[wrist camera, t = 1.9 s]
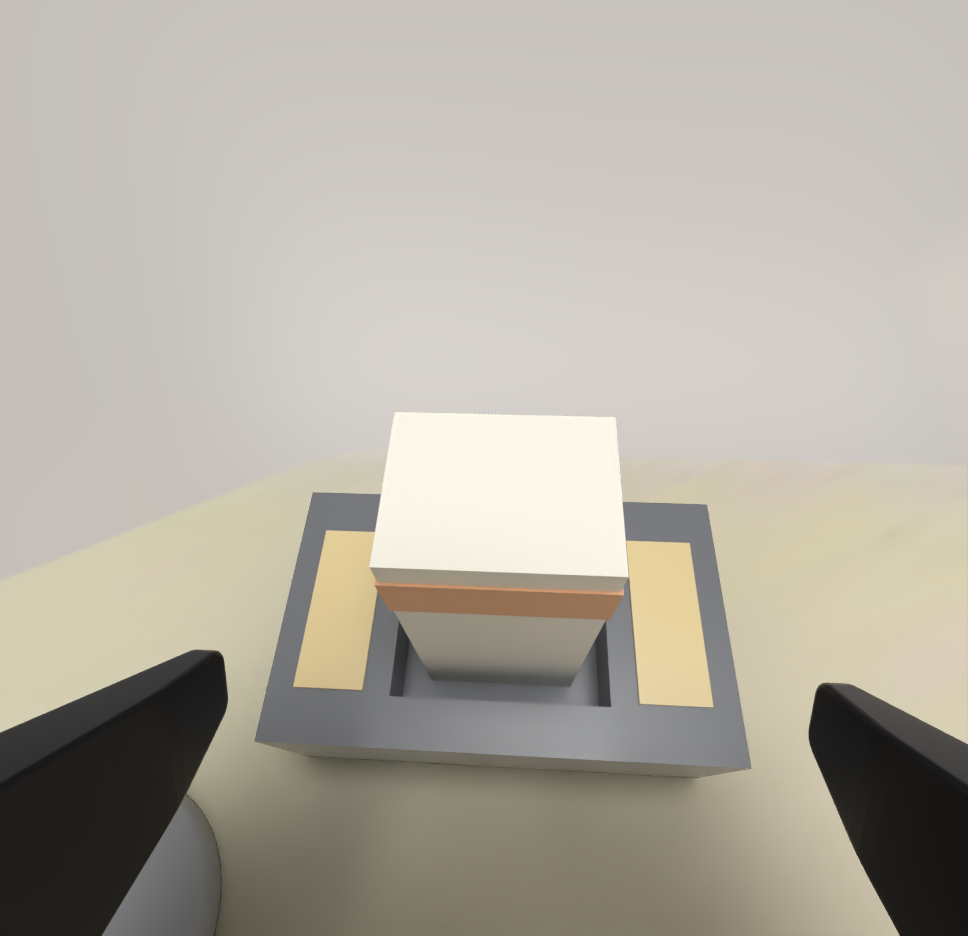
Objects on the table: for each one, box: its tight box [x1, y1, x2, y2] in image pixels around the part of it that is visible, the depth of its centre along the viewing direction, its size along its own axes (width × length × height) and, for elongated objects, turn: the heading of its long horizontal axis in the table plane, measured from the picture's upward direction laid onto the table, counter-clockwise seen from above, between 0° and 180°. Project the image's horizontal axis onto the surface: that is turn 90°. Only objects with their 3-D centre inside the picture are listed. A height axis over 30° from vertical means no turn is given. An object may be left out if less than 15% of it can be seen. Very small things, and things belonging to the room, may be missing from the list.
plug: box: [369, 412, 629, 687], centre depth 13 cm, size 3×4×9 cm
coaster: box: [102, 794, 221, 936], centre depth 15 cm, size 7×7×2 cm
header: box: [255, 492, 751, 778], centre depth 17 cm, size 7×12×5 cm, turn 87°
